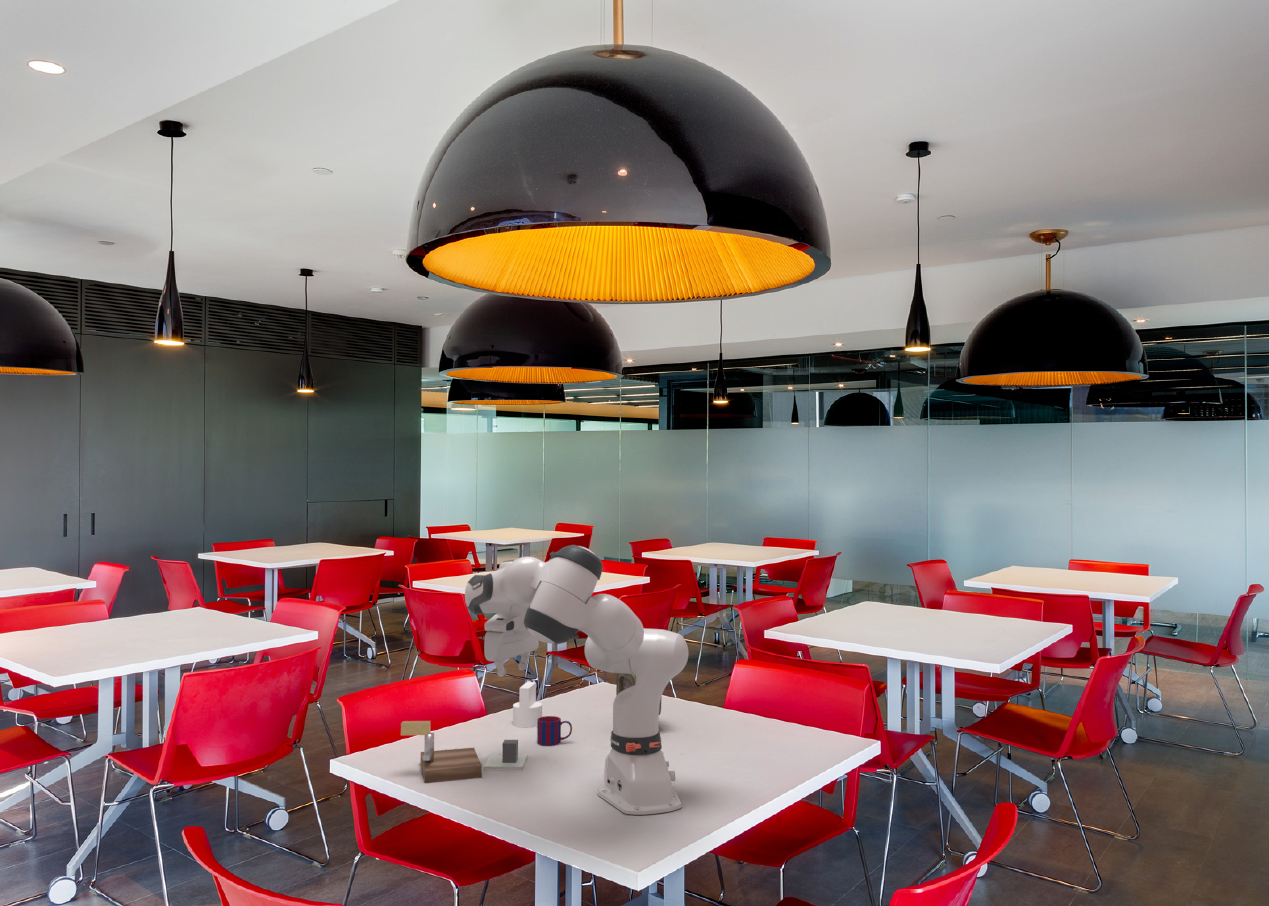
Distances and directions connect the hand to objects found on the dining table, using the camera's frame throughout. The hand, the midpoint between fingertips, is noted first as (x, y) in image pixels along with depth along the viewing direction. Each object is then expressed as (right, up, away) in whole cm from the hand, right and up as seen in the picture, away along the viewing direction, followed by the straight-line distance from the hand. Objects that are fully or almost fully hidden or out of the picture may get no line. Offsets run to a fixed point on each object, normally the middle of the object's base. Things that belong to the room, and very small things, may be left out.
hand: (512, 672), depth 226 cm
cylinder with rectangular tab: (-1, -26, +38) cm, 46 cm away
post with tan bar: (-23, -20, -11) cm, 32 cm away
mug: (+10, -25, +18) cm, 32 cm away
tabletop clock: (+34, -26, +33) cm, 54 cm away
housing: (-15, -23, -7) cm, 29 cm away
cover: (-1, -24, -1) cm, 24 cm away
